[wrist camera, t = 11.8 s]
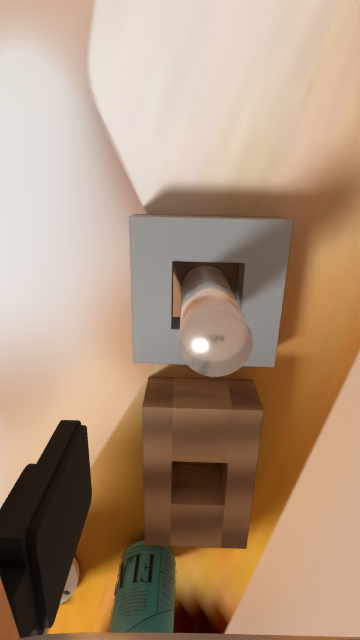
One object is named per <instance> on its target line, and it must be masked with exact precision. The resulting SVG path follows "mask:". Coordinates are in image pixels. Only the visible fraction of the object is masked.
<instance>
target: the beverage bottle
mask: <svg viewBox="0 0 360 640" xmlns="http://www.w3.org/2000/svg"><path fill="white" fill-rule="evenodd" d="M121 558H122V562H120V563H121V565H120V566H121V567H119V569H120V570H119V571H120V572H118V573H119V575H118V576H119V579H118V583H117V582H116V583H117V584H118V585H117V586H116V587H117V590H116V588H115V593H114V595H116V596H115V602H114V607H113V608H112V609H113V613H112V612H111V613H112V619H111V623H110V624H111V625H110V630H109V633H174V632H173V625H174V624H173V623H174V614H175V612H174V609H175V608H174V604H175V603H174V597H175V591H176V590H175V566H176V563H175V558H174V555H173V552H172V551H171V550H170V549H169V548H168V547H167V546H151V545H145V540H144V541H139V542H136V543H134V544H132V545H130V546H129V547H128V548H127V549H126V551H125V553H124V554H123V557H121ZM176 571H177V570H176ZM176 573H177V572H176ZM118 576H117V578H118ZM113 601H114V599H113ZM112 606H113V605H112ZM175 610H176V609H175ZM111 611H112V610H111ZM110 617H111V616H110ZM174 628H175V627H174Z"/></svg>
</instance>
